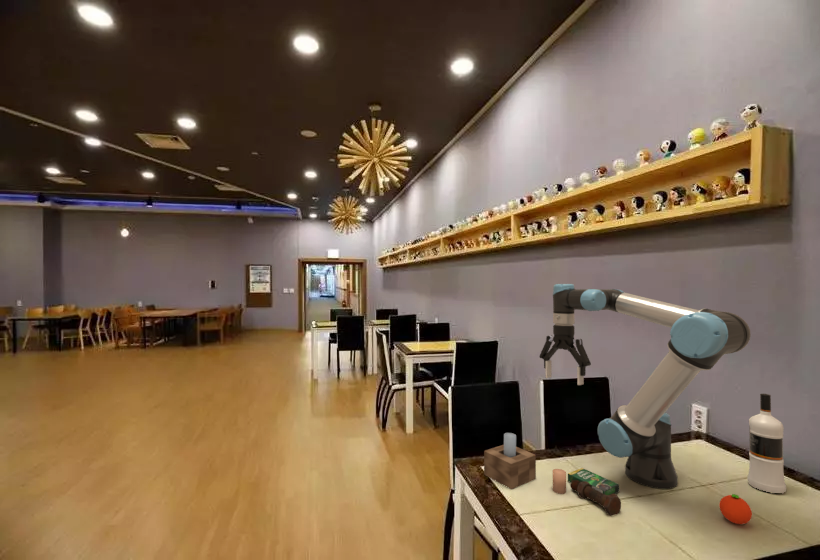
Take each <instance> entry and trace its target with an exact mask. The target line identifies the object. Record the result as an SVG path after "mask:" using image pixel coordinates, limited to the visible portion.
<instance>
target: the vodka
mask: <svg viewBox="0 0 820 560" xmlns="http://www.w3.org/2000/svg"><path fill="white" fill-rule="evenodd" d="M759 396H760V398H759V400H760V403H759V404H760V405H759V407H760V410H759V413H758V414H755V415H753V416H751V417H750V418H749V419H748V424H749V426H748V427H749V430H748V431H749V433H748V434H749V439H748V441H749V452H748V454H749V469H748V474H747V478H746V479H747V480H746V481H747V482H748V484H749V485H750V486H751V487H753V488H754V489H756V488H757V489H756V490H758V489H759V490H758V491H760V490H763V491H766V492H765V493H767V492H772V493H782V494H785V493H786V491H787V484H786V482H785V475H784V473H785V471H784V463H785V460H784V440H783V439H784V430H785V429H784V425H783V423H782V422H781V421H780V420H779V419H778V418H776V417H774V416H773V415H772V402H771V401H772V398H771V397H772V395H771V394H769V393H760V394H759ZM763 491H762V492H763ZM784 492H785V493H784ZM772 493H771V494H772Z"/></svg>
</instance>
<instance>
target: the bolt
mask: <svg viewBox="0 0 820 560" xmlns="http://www.w3.org/2000/svg"><path fill="white" fill-rule="evenodd" d="M571 482H572V483H571ZM571 482H569V485H570V488H571V489H572V490H573V491H575V492H576V493H577V495H578V496H579V497H580V498H582V499H585V498H586V499H589V500H591V501H593V502H595V503H597V504H598V505H600V506H602V507H603V508H604V510H605V513H606V514H607V513H608V514H607V515H609V516H616V515H618V514H619V513H620V511H621V508H622V501H621V499H620V497H619V496H618V495H617V494H611V495H605V494H603V493H601V492H599V491H597V490H595V489H593V488H592V487H591V485H590V484H589V483H588V482H586V481H583V482H580V481H578V480H572V481H571ZM586 499H585V500H586Z"/></svg>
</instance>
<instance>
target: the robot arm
mask: <svg viewBox="0 0 820 560" xmlns="http://www.w3.org/2000/svg"><path fill="white" fill-rule="evenodd" d="M552 290H553V291H552V304H553V305H552V309H553V311H552V312H553V315H552V316H553V317H552V318H553V319H552V320H553V326H552V327H553V328H552V329H553V330H552V331H553V332H552V333H553V335H552V334H551V335H547V336H546V338H545V343H544V345H543V347H542V349H541V351H540V354H539V358H540V359H542V360H543V368H544V369H545V378H546V379H549V378H552V359H551V358H552V357H553V356H554V355H555V353H556V352H557V351H558V350H565V351H568V352H570V355H571V356H572V357H573V359H574V360H575V362H576V363H577V365H578V366H577V367H576V368H577V369H576V371H577V372H576V373H577V376H576V377H577V382H576V383H577V386H582V385H584V383H585V382H584V380H585V379H584V377H585V376H586V373H587V371H586V367H588V366H589V367H590V366H591V365H592V364H591V360H590V358H589V356H588V354H587V351H586V349H585V347H584V344H583V339H582V338H578V339H577V338H576V339H575V326H574V324H575V322H576V321H575V310H578V311H589V312H596V311H598V312H599V311H603V310H605V311H611V312H615V313H617V314H618V313H620V314H623V315H626V316H630V317H633V318H635V319H636V318H637V319H639V320H643V321H647V322H649V323H654V324H657V325H660V326H663V327H667V328H670V332H669V335H670V339H669V341H668V342H667V345H666V346H667V349H668V353H666V355H665V356H664V357H663V359H662V360H661V361H660V362H659V364H658V365H657V366H656V367H655V369H654V370H653V372H652V373H651V374H650V376H649V377H647V380H646V381H645V382H644V384H642V386H641V387H640V388H639V390H638V391H637V392H636V394H635V395H634V396H633V397H632V399H631V400H630V401H629V403H628V404H623V405H620V406H619V407H618V408H617V409H616V410H615V411H614V413H613V415H612V416H611V417H609V418H604V419H603V420H601V421H600V422H599V423H598V426H597V436H598V440H599V442H600V444H601V446H602V447H603V448H604V450H606V452H608V454H610V455H612V457H613V456H614V457H616V458H627V460H626V463H625V466H624V475H626V477H628V478H629V479H630V480H632V481H634V483H635V482H636V483H638V484H640V485H642V486H647V487H649V488H655V489H665V490H667V489H673V488H675V487H677V486H678V484H679V482H678V481H679V479H678V474H677V471H676V468H675V466H674V463H673V461H672V460H673V459H672V423H671V422H672V421H671V416H670V414H669V413H667V411H668V410H669V408H670V407H671V406H672V405H673V404H674V403H675V401H676V400H677V399H678V398H679V396H680V395H681V394H682V393H683V392H684V390H686V389H687V387H689V385H690V384H691V382H693V380H694V379H695V377H696V376H698V374H699V373H700V372H701V371H711V369H712V368H713V367H714V366H715V365H716V364H717V363H718V361H719V360H721V358H722V357H723V356H724V355H728V354H733V353H738V352H739V351H742V350H743V349H744V348H745V347H747V345H749V343H750V341H751V329H750V327H749V324H748V323H747V322H746V320H745V319H744V318H743V317H741V316H739V315H737V314H736V313H732V312H729V311H721V310H720V311H719V310H714V309H709V308H705V307H704V308H702V309H700V310H699V309H695V308H691V307H686V306H682V305H679V304H674V303H669V302H665V301H662V300H657V299H653V298H648V297H644V296H640V295H637V294H636V295H635V294H632V293H628V292H624V290H622V289H617V288H610V289H604V288H603V289H601V288H599V289H596V288H593V289H592V288H586V289H585V288H584V289H583V288H582V289H581V288H580V289H578V288H577V289H576V288H575V284H573V283H556V284H554V285H553V289H552ZM553 342H554V344H553ZM552 344H553V345H552Z"/></svg>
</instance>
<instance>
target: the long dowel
mask: <svg viewBox="0 0 820 560" xmlns="http://www.w3.org/2000/svg"><path fill="white" fill-rule="evenodd" d="M503 445H504V455H505V456H508V457H510V458H511V457H514V456H516V447H517V435H516V434H515V433H512V432H505V433H503Z"/></svg>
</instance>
